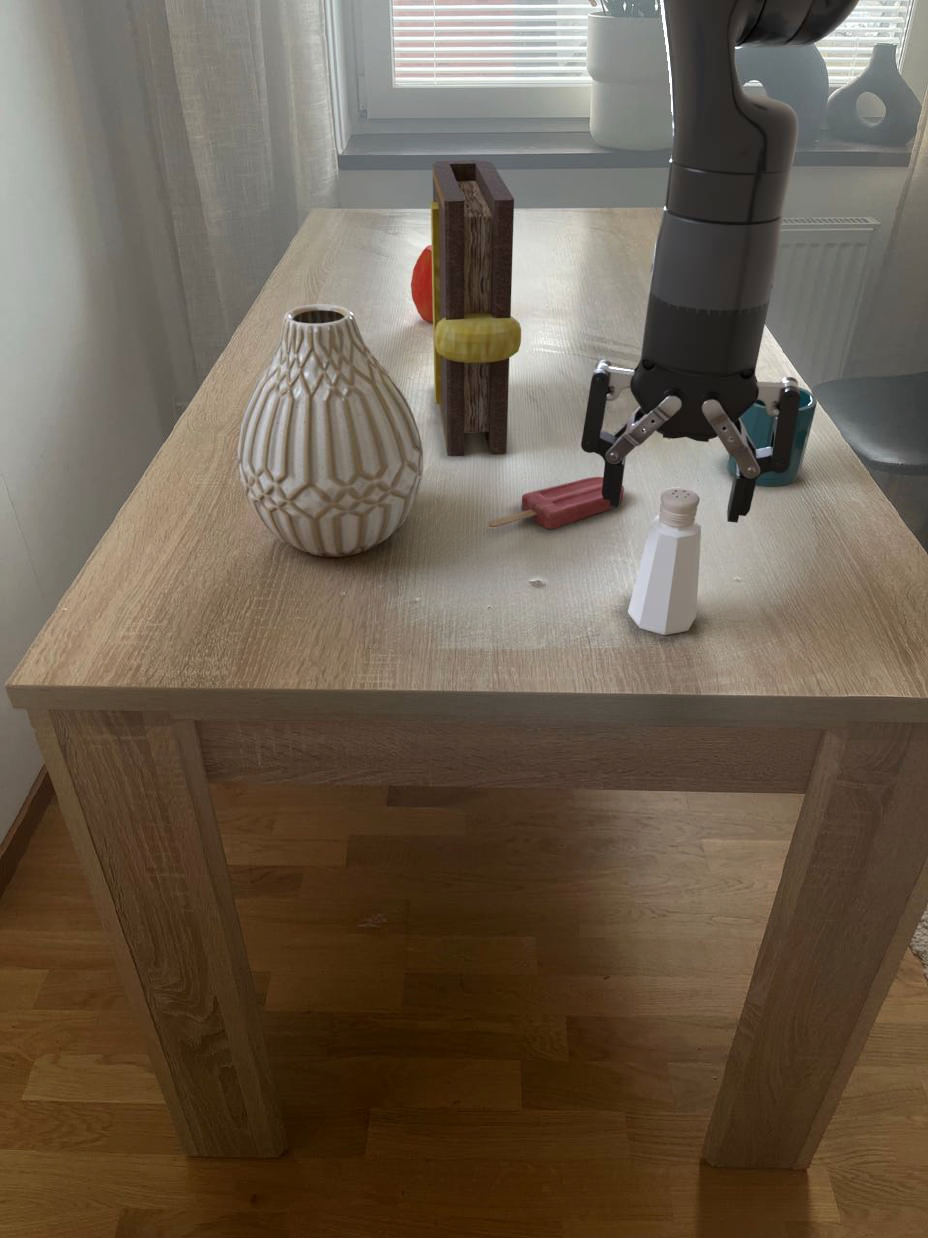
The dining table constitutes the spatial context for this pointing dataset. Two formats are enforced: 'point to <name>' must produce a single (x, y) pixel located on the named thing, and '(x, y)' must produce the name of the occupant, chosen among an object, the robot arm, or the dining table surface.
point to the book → (472, 301)
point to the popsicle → (561, 503)
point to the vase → (328, 439)
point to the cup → (761, 432)
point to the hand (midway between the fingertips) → (673, 510)
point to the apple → (423, 285)
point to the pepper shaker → (669, 567)
